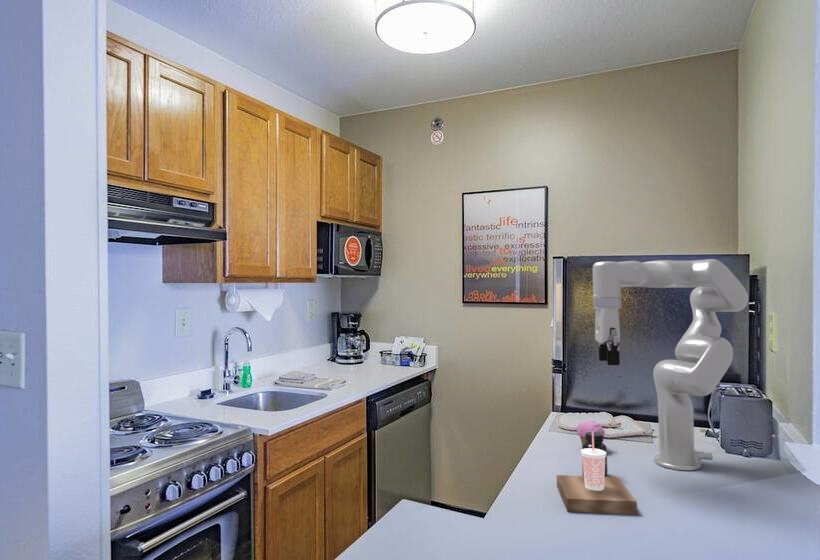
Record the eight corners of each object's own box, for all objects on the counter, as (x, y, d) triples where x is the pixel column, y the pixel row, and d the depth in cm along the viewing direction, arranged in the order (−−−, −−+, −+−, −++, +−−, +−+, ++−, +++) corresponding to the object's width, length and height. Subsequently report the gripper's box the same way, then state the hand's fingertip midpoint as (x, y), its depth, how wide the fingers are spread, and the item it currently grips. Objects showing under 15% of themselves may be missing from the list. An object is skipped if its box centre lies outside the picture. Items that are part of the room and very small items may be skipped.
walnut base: (618, 488, 132) (618, 477, 133) (637, 514, 117) (636, 501, 117) (556, 486, 135) (556, 475, 135) (567, 511, 119) (566, 498, 119)
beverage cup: (580, 490, 124) (579, 433, 125) (582, 481, 130) (580, 427, 130) (607, 493, 122) (605, 435, 122) (607, 484, 127) (605, 429, 128)
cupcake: (609, 454, 161) (608, 423, 161) (582, 455, 161) (581, 424, 161) (599, 446, 169) (598, 417, 170) (573, 447, 170) (573, 417, 170)
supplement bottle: (610, 481, 138) (608, 437, 138) (584, 479, 139) (583, 436, 140) (605, 472, 145) (604, 431, 145) (580, 471, 146) (579, 430, 146)
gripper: (587, 303, 153) (589, 359, 152) (601, 304, 136) (602, 366, 135) (612, 303, 152) (614, 359, 151) (629, 304, 135) (631, 367, 134)
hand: (609, 362), depth 143 cm, fingers open, 9 cm apart
